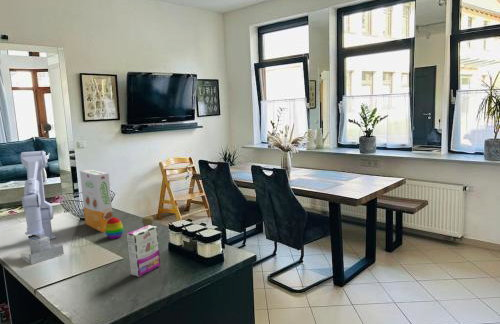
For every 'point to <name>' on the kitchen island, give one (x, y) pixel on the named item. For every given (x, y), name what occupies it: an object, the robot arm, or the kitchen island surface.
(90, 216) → the cereal box
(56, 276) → the kitchen island surface
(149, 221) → the cork
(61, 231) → the kitchen island surface
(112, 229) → the decorative egg
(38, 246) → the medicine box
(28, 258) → the jig bracket
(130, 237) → the candy bar box
